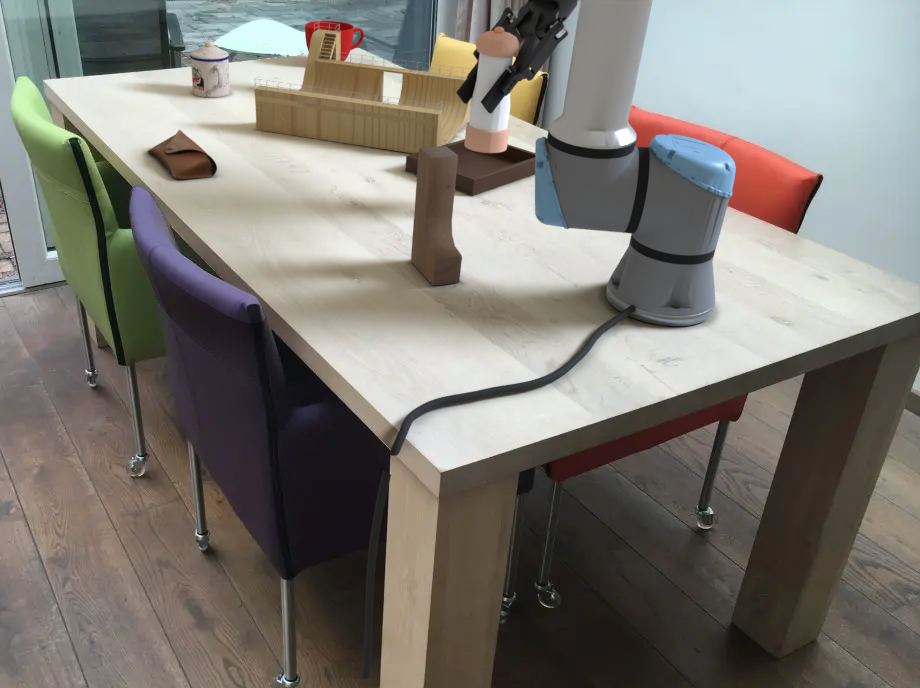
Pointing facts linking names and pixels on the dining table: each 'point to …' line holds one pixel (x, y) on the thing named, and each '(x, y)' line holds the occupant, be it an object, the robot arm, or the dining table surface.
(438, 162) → the wooden block
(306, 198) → the dining table surface
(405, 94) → the skate ramp
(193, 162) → the sunglasses case
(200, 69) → the teacup with lid
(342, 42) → the ceramic cup
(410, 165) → the tray
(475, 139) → the pepper shaker
